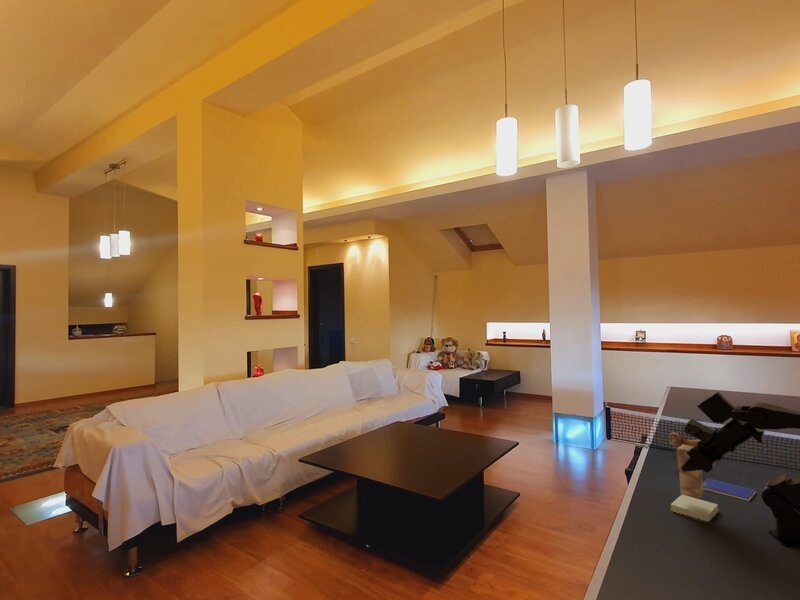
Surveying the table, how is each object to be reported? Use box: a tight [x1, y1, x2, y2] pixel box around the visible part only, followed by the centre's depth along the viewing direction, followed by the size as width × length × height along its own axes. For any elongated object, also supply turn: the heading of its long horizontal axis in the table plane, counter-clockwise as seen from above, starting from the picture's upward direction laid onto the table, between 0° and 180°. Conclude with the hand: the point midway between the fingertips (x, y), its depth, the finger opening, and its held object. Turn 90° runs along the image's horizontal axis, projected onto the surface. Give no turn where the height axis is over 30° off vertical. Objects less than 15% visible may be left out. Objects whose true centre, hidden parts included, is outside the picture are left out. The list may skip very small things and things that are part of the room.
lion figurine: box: [668, 431, 701, 448], centre depth 162 cm, size 15×5×9 cm, turn 72°
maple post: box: [678, 445, 704, 499], centre depth 121 cm, size 4×4×13 cm
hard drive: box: [703, 478, 757, 502], centre depth 133 cm, size 2×8×12 cm
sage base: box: [670, 494, 719, 522], centre depth 122 cm, size 9×9×2 cm
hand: (685, 467), depth 122 cm, fingers closed on maple post, 4 cm apart
